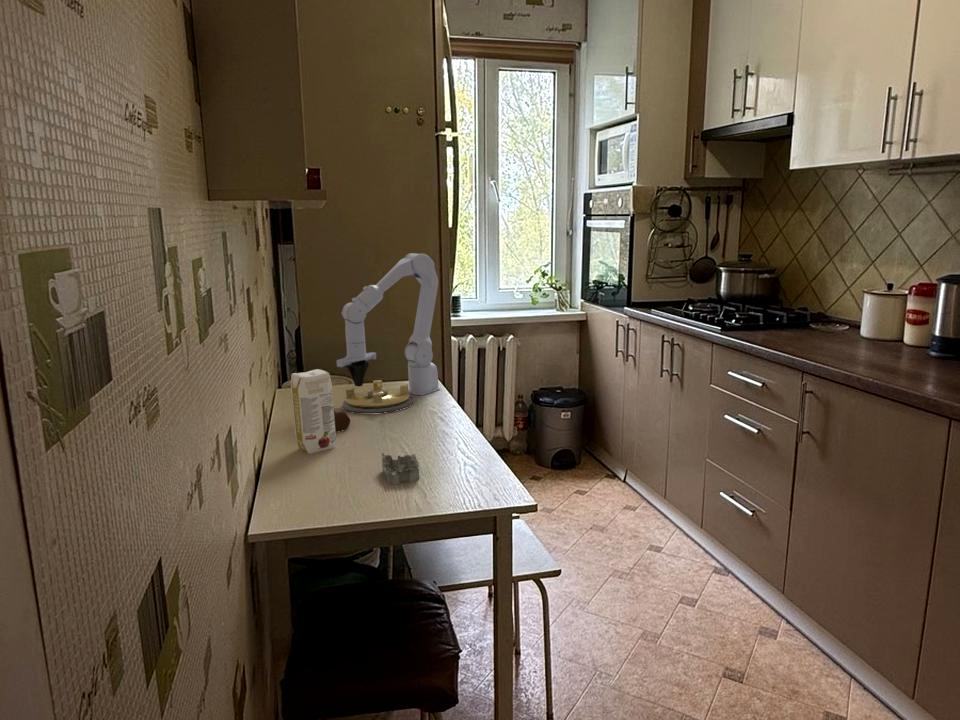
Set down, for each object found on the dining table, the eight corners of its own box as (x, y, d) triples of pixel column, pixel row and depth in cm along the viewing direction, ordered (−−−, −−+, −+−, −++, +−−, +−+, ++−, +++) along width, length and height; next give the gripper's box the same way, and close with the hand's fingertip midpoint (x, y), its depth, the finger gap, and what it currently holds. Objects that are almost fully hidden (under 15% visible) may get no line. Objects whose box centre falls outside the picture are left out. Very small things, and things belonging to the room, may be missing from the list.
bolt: (325, 424, 190) (344, 435, 177) (309, 418, 187) (328, 429, 175) (333, 405, 190) (353, 415, 178) (318, 399, 188) (336, 409, 175)
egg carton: (381, 469, 148) (380, 452, 148) (414, 465, 150) (413, 448, 149) (385, 486, 138) (384, 468, 137) (421, 482, 140) (420, 464, 139)
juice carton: (339, 447, 163) (333, 372, 159) (307, 456, 158) (300, 378, 154) (325, 440, 169) (319, 367, 165) (293, 448, 164) (286, 373, 160)
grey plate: (378, 392, 216) (378, 388, 216) (427, 400, 204) (427, 396, 203) (328, 408, 200) (328, 403, 199) (378, 418, 187) (377, 413, 187)
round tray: (378, 389, 214) (377, 377, 214) (422, 396, 203) (422, 384, 202) (332, 402, 200) (331, 390, 199) (377, 411, 188) (377, 398, 188)
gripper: (364, 337, 211) (366, 379, 213) (328, 344, 199) (331, 389, 202) (380, 339, 207) (382, 382, 209) (344, 346, 195) (347, 391, 198)
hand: (358, 385), depth 205 cm, fingers closed
